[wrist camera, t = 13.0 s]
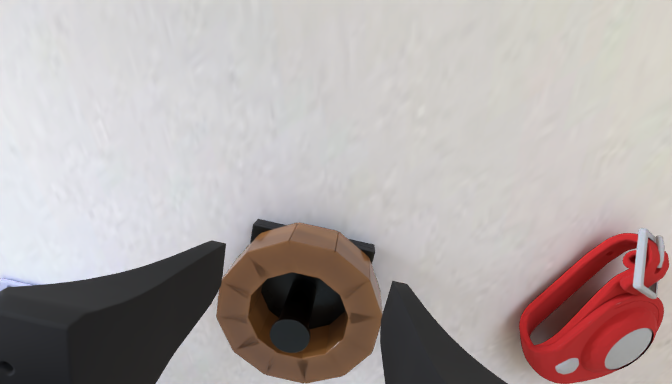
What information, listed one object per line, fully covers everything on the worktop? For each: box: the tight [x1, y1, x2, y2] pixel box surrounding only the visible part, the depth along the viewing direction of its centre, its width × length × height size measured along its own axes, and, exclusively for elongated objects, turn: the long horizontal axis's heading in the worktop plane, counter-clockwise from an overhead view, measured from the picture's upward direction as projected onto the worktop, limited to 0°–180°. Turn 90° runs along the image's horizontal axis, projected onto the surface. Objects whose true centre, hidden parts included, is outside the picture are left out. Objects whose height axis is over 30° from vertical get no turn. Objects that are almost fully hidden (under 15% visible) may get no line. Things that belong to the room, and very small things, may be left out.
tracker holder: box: [519, 228, 669, 384], centre depth 22 cm, size 12×4×10 cm
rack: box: [250, 219, 375, 353], centre depth 23 cm, size 9×9×6 cm
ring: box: [216, 223, 383, 383], centre depth 23 cm, size 11×11×3 cm
